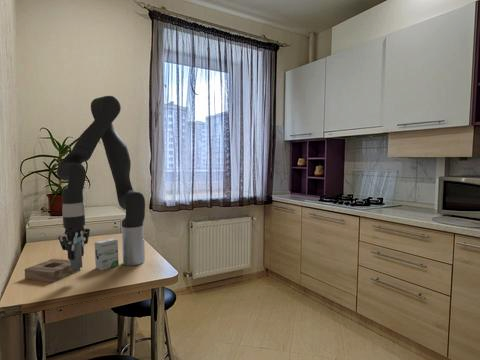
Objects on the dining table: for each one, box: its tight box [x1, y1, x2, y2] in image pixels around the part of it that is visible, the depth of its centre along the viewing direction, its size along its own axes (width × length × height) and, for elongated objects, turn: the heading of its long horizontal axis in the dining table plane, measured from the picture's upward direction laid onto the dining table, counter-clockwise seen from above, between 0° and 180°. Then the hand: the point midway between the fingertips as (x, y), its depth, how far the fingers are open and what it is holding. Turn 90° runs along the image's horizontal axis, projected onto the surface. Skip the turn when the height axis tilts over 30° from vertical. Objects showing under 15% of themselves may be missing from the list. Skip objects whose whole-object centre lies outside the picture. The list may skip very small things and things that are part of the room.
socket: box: [24, 258, 81, 283], centre depth 132 cm, size 14×14×4 cm
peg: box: [69, 236, 83, 269], centre depth 123 cm, size 4×4×12 cm
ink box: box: [94, 238, 120, 271], centre depth 141 cm, size 9×5×12 cm, turn 141°
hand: (76, 257), depth 123 cm, fingers closed on peg, 4 cm apart
